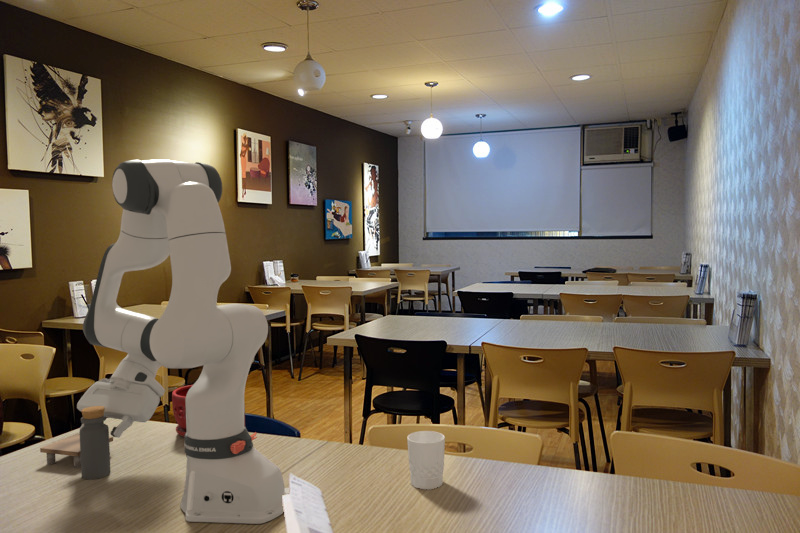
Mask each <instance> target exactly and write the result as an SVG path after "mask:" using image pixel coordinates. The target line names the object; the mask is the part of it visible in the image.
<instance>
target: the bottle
mask: <svg viewBox="0 0 800 533" xmlns="http://www.w3.org/2000/svg"><path fill="white" fill-rule="evenodd" d="M104 410H105V407H103V406H92V407H87V408H84V409H82V410H81V411H80V412H81V415H82V417H81V418H80V423H81V425H82V424H84V427H82V428H81V429H80V428H79V434H80V455H81V467H80V470H81V471H80V472H81V478H82V479H84V480H96V479H102V478H104V477H107V476H108V475H110V473H111V455H110V443H109V437H110V433H109V425H108V424H106V423H104V422H105V421H106V420H107V418H106V415H105V414H104Z"/></svg>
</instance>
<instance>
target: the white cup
mask: <svg viewBox="0 0 800 533" xmlns="http://www.w3.org/2000/svg"><path fill="white" fill-rule="evenodd" d="M445 436H446V435H444V433H441V432H438V431H433V430H419V431H414V432H411V433H410V434H409V433H408V435H407V437H406V438H407V439H406V440H407V441H406V442H407V452H408V454H407V455H408V468H409V472H410V473H409V474H410V476H409V477H410V484H411V485H412V487H413V488H416V489H418V488H420V489H419V490H426V489H427V490H434V489H433V488H435V489H438V488H440V487H441V486H442V485H443V483H444V482H443V480H444V477H443V475H444V470H445V468H444V466H445V446H446V444H445V443H446V442H445V441H446V437H445ZM437 487H438V488H437Z"/></svg>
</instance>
